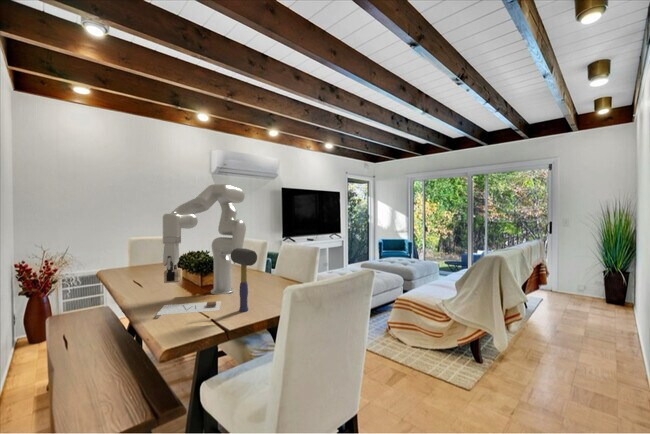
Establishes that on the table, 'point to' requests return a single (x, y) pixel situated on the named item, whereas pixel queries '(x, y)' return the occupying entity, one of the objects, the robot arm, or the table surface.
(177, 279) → the sanding block
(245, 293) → the rubber mallet
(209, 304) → the walnut offcut
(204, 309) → the board
